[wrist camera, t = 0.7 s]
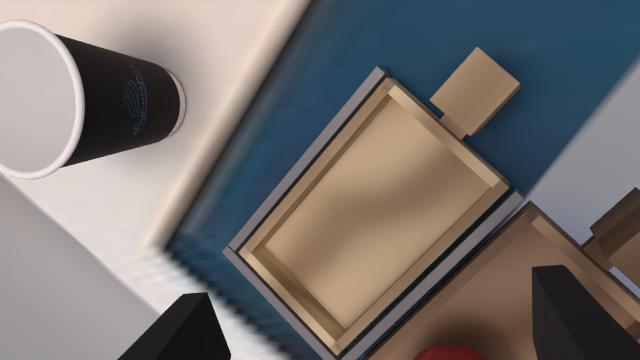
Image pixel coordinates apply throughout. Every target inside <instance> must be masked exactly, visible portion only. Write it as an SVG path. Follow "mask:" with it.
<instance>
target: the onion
mask: <svg viewBox="0 0 640 360" xmlns="http://www.w3.org/2000/svg"><path fill="white" fill-rule="evenodd" d="M413 360H489V359H488V358H486V357H485V356H484V355H483V354H481V353H480V352H478V351H475V350H473V349H470V348H468V347H466V346H461V345H437V346H434V347H432V348H429V349H426V350H423V351H421V352H420V353H419V354H418V355H417V356H416V357H415V358H414V359H413Z"/></svg>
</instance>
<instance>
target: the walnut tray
mask: <svg viewBox="0 0 640 360" xmlns="http://www.w3.org/2000/svg"><path fill="white" fill-rule="evenodd" d="M590 229H591V231H592V233H593V236H592V237H590V238H589V239H588V240H587V241H586V242H585V243H584V244H582V245H581V246H580V245H579V244H578V243H577V242H576V241H575V240H574V239H573V238H571V237H570V236H569V235H568V234H567V233H566V232H565V231H563V230H562V229H561V228H560V227H559V226H558V225H557V224H556V223H555V222H554V221H552V220H551V219H550V218H549V217H548V216H547V215H546V214H545V213H544V212H543V211H541V210H540V209H539V208H538V207H537V206H536V205H535V204H534V203H532V202H531V201H529V202H528V203H527V204H526V205H524V206H523V207H522V208H521V209H520V210H519V211H518V212H517V213H516V214H515V215H514V216H513V217H512V218H511V219H510V220H509V221H508V222H506V223H505V224H504V225H503V226H502V227H501V228H500V229H499V230H498V231H497V232H496V233H495V234H494V235H493V236H492V237H491V238H490V239H489V240H487V241H486V242H485V243H484V244H483V245H482V246H481V247H480V248H479V249H478V250H477V251H476V252H475V253H474V254H473V255H472V256H471V257H470V258H468V259H467V260H466V261H465V262H464V263H463V264H462V265H461V266H460V267H459V268H458V269H457V270H456V271H455V272H454V273H453V274H452V275H451V276H449V277H448V278H447V279H446V280H445V281H444V282H443V283H442V284H441V285H440V286H439V287H438V288H437V289H436V290H435V291H434V292H433V293H431V294H430V295H429V296H428V297H427V298H426V299H425V300H424V301H423V302H422V303H421V304H420V305H419V306H418V307H417V308H416V309H415V310H414V311H412V312H411V313H410V314H409V315H408V316H407V317H406V318H405V319H404V320H403V321H402V322H401V323H400V324H399V325H398V326H397V327H396V328H395V329H393V330H392V331H391V332H390V333H389V334H388V335H387V336H386V337H385V338H384V339H383V340H382V341H381V342H380V343H379V344H378V345H377V346H375V347H374V348H373V349H372V350H371V351H370V352H369V353H368V354H367V355H366V356H365V357H364V358H363V360H413V359H414V358H415V357H416V356H417V355H418V354H419V353H420V352H421V351H423V350H426V349H429V348H432V347H434V346H437V345H461V346H466V347H468V348H470V349H473V350H475V351H478V352H480V353H481V354H483V355H484V356H485V357H486V358H488V359H489V360H537V355H536V351H535V347H534V342H533V326H532V267H537V266H550V265H564V266H566V267H567V268H568V269H569V270H570V271H571V272H572V274H573V275H574V276H575V277H576V278H577V279H578V281H579V282H580V283H581V284H582V285H583V286H584V287H585V288H586V290H587V291H588V292H589V293H590V294H591V295H592V296H593V297H594V298H595V299H596V300H597V301H598V303H599V304H600V305H601V306H602V307H603V308H604V309H605V310H606V311H607V312H608V313H609V314H610V315H611V316H612V317H613V318H614V319H615V320H616V321H617V322H618V323H619V324H620V325H621V326H622V327H623V328H624V329H625V330H626V331H627V332H628V333H629V334H630V335H631V336H632V337H633V338H634V339H635V340H636V341H637V342H638V343H639V344H640V299H639V298H638V297H637V296H636V295H635V294H634V293H633V292H631V291H630V290H629V289H628V288H627V287H626V286H625V285H624V284H623V283H621V282H620V281H619V280H618V279H617V278H616V277H615V276H613V275H612V274H611V273H610V272H609V271H608V270H610V269H611V268H612V267H613V266H615V267H617V269H619V270H620V271H621V272H622V273H623V274H624V275H625V276H626V277H628V278H629V279H630V280H631V281H632V282H633V283H634V284H636V286H638V287H639V288H640V190H638V189H637V188H636V187H635V188H634V189H633V190H632V191H631V192H629V193H628V194H627V195H626V196H625V197H624V198H623V199H622V200H620V201H619V202H618V203H617V204H616V205H615V206H614V207H612V209H610V210H609V211H608V212H607V213H606V214H605V215H603V216H602V217H601V218H600V219H599V220H598V221H597V222H595V223H594V224H593V225H592V226H591V227H590Z"/></svg>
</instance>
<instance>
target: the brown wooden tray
mask: <svg viewBox="0 0 640 360" xmlns="http://www.w3.org/2000/svg"><path fill="white" fill-rule="evenodd" d="M390 76H391V74H390V73H389V72H387V71H386V70H385V69H384V68H381V67H378V66H377V67H376V68H375V69H374V70H373V71H372V73H371V74H370V75H369V76H368V77H367V79H366V80H365V81H364V82H363V83H362V85H361V86H360V87H359V88H358V90H357V91H356V92H355V93H354V94H353V96H352V97H351V98H350V99H349V100H348V102H347V103H346V104H345V105H344V106H343V108H342V109H341V110H340V111H339V112H338V114H337V115H336V116H335V117H334V118H333V120H332V121H331V122H330V123H329V124H328V126H327V127H326V128H325V129H324V130H323V132H322V133H321V134H320V135H319V136H318V138H317V139H316V140H315V141H314V142H313V144H312V145H311V146H310V147H309V148H308V150H307V151H306V152H305V153H304V154H303V156H302V157H301V158H300V159H299V160H298V162H297V163H296V164H295V165H294V166H293V168H292V169H291V170H290V171H289V172H288V174H287V175H286V176H285V177H284V178H283V180H282V181H281V182H280V183H279V184H278V186H277V187H276V188H275V189H274V190H273V192H272V193H271V194H270V195H269V196H268V198H267V199H266V200H265V201H264V202H263V204H262V205H261V206H260V207H259V208H258V210H257V211H256V212H255V213H254V214H253V216H252V217H251V218H250V219H249V220H248V222H247V223H246V224H245V225H244V226H243V228H242V229H241V230H240V231H239V232H238V234H237V235H236V236H235V237H234V238H233V240H232V241H231V242H230V243H229V244H228V246H227V247H226V248H225V249H224V250H223V252H222V253H223V254H224V255H225V256H226V257H227V258H228V259H229V260H230V261H231V262H232V263H233V264H234V265H235V266H236V268H237V269H238V270H239V271H240V272H241V273H242V274H243V275H244V276H245V277H246V278H247V279H248V280H249V281H250V282H251V283H252V284H253V285H254V287H255V288H256V289H257V290H258V291H259V292H260V293H261V294H262V295H263V296H264V297H265V298H266V299H267V300H268V301H269V302H270V303H271V304H272V306H273V307H274V308H275V309H276V310H277V311H278V312H279V313H280V314H281V315H282V316H283V317H284V318H285V319H286V320H287V321H288V322H289V323H290V325H291V326H292V327H293V328H294V329H295V330H296V331H297V332H298V333H299V334H300V335H301V336H302V337H303V338H304V339H305V340H306V341H307V342H308V344H309V345H310V346H311V347H312V348H313V349H314V350H315V351H316V352H317V353H318V354H319V355H320V356H321V357H322V358H323V359H324V360H356V359H357V358H358V357H359V356H360V355H361V354H362V353H363V352H364V351H365V350H366V349H368V348H369V347H370V346H371V345H372V344H373V343H374V342H375V341H376V340H377V339H378V338H379V337H380V336H381V335H382V334H383V333H384V332H385V331H386V330H387V329H389V328H390V327H391V326H392V325H393V324H394V323H395V322H396V321H397V320H398V319H399V318H400V317H401V316H402V315H403V314H404V313H405V312H406V311H407V310H409V309H410V308H411V307H412V306H413V305H414V304H415V303H416V302H417V301H418V300H419V299H420V298H421V297H422V296H423V295H424V294H425V293H426V292H427V291H428V290H430V289H431V288H432V287H433V286H434V285H435V284H436V283H437V282H438V281H439V280H440V279H441V278H442V277H443V276H444V275H445V274H446V273H447V272H448V271H449V270H451V269H452V268H453V267H454V266H455V265H456V264H457V263H458V262H459V261H460V260H461V259H462V258H463V257H464V256H465V255H466V254H467V253H468V252H469V251H471V250H472V249H473V248H474V247H475V246H476V245H477V244H478V243H479V242H480V241H481V240H482V239H483V238H484V237H485V236H486V235H487V234H488V233H489V232H490V231H492V230H493V229H494V228H495V227H496V226H497V225H498V224H499V223H500V222H501V221H502V220H503V219H504V218H505V217H506V216H507V215H508V214H509V213H510V212H511V211H513V210H514V209H515V208H516V207H517V206H518V205H519V204H520V203H521V202H522V201H523V200H524V199H525V198H524V194H523V193H522V192H521V191H520V190H519V189H518V188H517V187H516V188H515V189H513V190H512V191H511V192H510V193H509V194H508V195H507V196H506V197H505V198H504V199H503V200H502V201H501V202H500V203H499V204H498V205H497V206H496V207H495V208H494V209H493V210H492V211H491V212H490V213H489V214H488V215H487V216H486V217H485V218H484V219H482V220H481V221H480V222H479V223H478V224H477V225H476V226H475V227H474V228H473V229H472V230H471V231H470V232H469V233H468V234H467V235H466V236H465V237H464V238H463V239H462V240H461V241H460V242H459V243H458V244H457V245H456V246H455V247H454V248H453V249H452V250H450V251H449V252H448V253H447V254H446V255H445V256H444V257H443V258H442V259H441V260H440V261H439V262H438V263H437V264H436V265H435V266H434V267H433V268H432V269H431V270H430V271H429V272H428V273H427V274H426V275H425V276H424V277H423V278H422V279H421V280H419V281H418V282H417V283H416V284H415V285H414V286H413V287H412V288H411V289H410V290H409V291H408V292H407V293H406V294H405V295H404V296H403V297H402V298H401V299H400V300H399V301H398V302H397V303H396V304H395V305H394V306H393V307H392V308H391V309H390V310H388V311H387V312H386V313H385V314H384V315H383V316H382V317H381V318H380V319H379V320H378V321H377V322H376V323H375V324H374V325H373V326H372V327H371V328H370V329H369V330H368V331H367V332H366V333H365V334H364V335H363V336H362V337H361V338H360V339H359V340H358V341H356V342H355V343H354V344H353V345H352V346H351V347H350V348H349V349H348V350H347V351H345V350H344V349H343V350H342V351H341V352H340V353H339V354H338V355H336V354H335V353H334V352H333V351H332V350H331V349H330V348H329V347H328V346H327V345H326V344H325V343H324V342H323V341H322V340H321V339H320V338H319V336H318V335H317V334H316V333H315V332H314V331H313V330H312V329H311V328H310V327H309V326H308V325H307V324H306V323H305V322H304V321H303V320H302V319H301V318H300V317H299V316H298V314H297V313H296V312H295V311H294V310H293V309H292V308H291V307H290V306H289V305H288V304H287V303H286V302H285V301H284V300H283V299H282V298H281V297H280V296H279V295H278V294H277V292H276V291H275V290H274V289H273V288H272V287H271V286H270V285H269V284H268V283H267V282H266V281H265V280H264V279H263V278H262V277H261V276H260V275H259V274H258V273H257V272H256V270H255V269H254V268H253V267H252V266H251V265H250V264H249V263H248V262H247V261H246V260H245V259H244V258H243V257H242V256H241V255H240V254H239V253H238V252H239V251H240V250H241V249H242V248H243V247H244V245H245V244H246V243H247V242H248V241H249V239H250V238H251V237H252V236H253V235H254V234H255V232H256V231H257V230H258V229H259V228H260V226H261V225H262V224H263V223H264V222H265V221H266V219H267V218H268V217H269V216H270V215H271V213H272V212H273V211H274V210H275V209H276V208H277V206H278V205H279V204H280V203H281V202H282V200H283V199H284V198H285V197H286V196H287V195H288V193H289V192H290V191H291V190H292V189H293V188H294V186H295V185H296V184H297V183H298V182H299V180H300V179H301V178H302V177H303V176H304V175H305V173H306V172H307V171H308V170H309V169H310V167H311V166H312V165H313V164H314V163H315V162H316V160H317V159H318V158H319V157H320V156H321V154H322V153H323V152H324V151H325V150H326V149H327V147H328V146H329V145H330V144H331V143H332V141H333V140H334V139H335V138H336V137H337V136H338V134H339V133H340V132H341V131H342V130H343V128H344V127H345V126H346V125H347V124H348V123H349V121H350V120H351V119H352V118H353V117H354V115H355V114H356V113H357V112H358V111H359V110H360V108H361V107H362V106H363V105H364V104H365V103H366V101H367V100H368V99H369V98H370V97H371V95H372V94H373V93H374V92H375V91H376V90H377V88H378V87H379V86H380V85H381V84H382V82H383V81H384V80H385V79H386V78H387V77H388V78H389V77H390Z"/></svg>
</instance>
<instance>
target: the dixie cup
mask: <svg viewBox="0 0 640 360" xmlns="http://www.w3.org/2000/svg"><path fill="white" fill-rule="evenodd" d="M185 108H186V101H185V95H184V91H183V89H182V86H181V85H180V83H179V81H178V80H177V79H176V78H175V77H174V76H173V75H172V74H171V73H169V72H168V71H166V70H165V69H163V68H162V67H160V66H159V65H157V64H154V63H151V62H148V61H144V60H141V59H138V58H134V57H131V56H127V55H124V54H121V53H117V52H114V51H111V50H107V49H104V48H101V47H97V46H94V45H91V44H87V43H84V42H80V41H77V40H74V39H70V38H67V37H64V36H60V35H57V34H54V33H52V32H51V31H50V30H48V29H46V28H45V27H43V26H41V25H39V24H37V23H34V22H31V21H26V20H11V21H6V22H3V23H0V171H2V172H3V173H5V174H7V175H9V176H12V177H15V178H19V179H27V180H32V179H39V178H43V177H46V176H48V175H50V174H52V173H54V172H55V171H57V170H58V169H59V168H62V167H66V166H69V165H73V164H77V163H81V162H85V161H88V160H92V159H96V158H100V157H103V156H107V155H111V154H115V153H119V152H122V151H126V150H130V149H134V148H137V147H141V146H145V145H149V144H153V143H156V142H159V141H161V140H163V139H164V138H166V137H167V136H169V135H170V134H172V133H173V132H175V131H176V130H177V128H178V127H179V126H180V124H181V122H182V120H183V118H184V114H185Z"/></svg>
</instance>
